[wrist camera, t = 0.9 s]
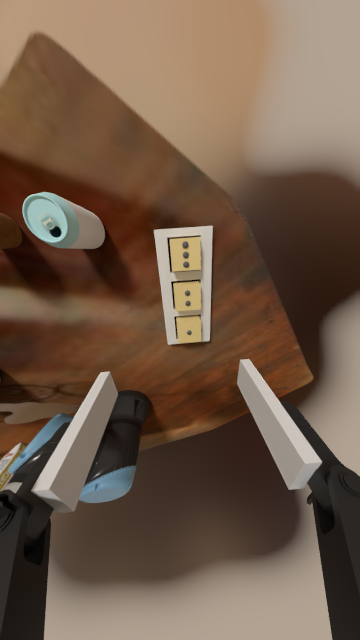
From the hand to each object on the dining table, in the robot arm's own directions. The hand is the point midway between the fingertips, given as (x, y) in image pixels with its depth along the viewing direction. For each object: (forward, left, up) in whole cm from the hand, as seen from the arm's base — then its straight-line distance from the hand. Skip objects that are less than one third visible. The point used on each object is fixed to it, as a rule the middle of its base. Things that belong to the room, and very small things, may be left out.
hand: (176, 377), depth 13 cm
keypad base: (0, -3, -28) cm, 28 cm away
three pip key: (+9, -3, -26) cm, 28 cm away
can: (+15, +17, -28) cm, 36 cm away
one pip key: (-9, -3, -26) cm, 28 cm away
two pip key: (0, -3, -26) cm, 26 cm away
